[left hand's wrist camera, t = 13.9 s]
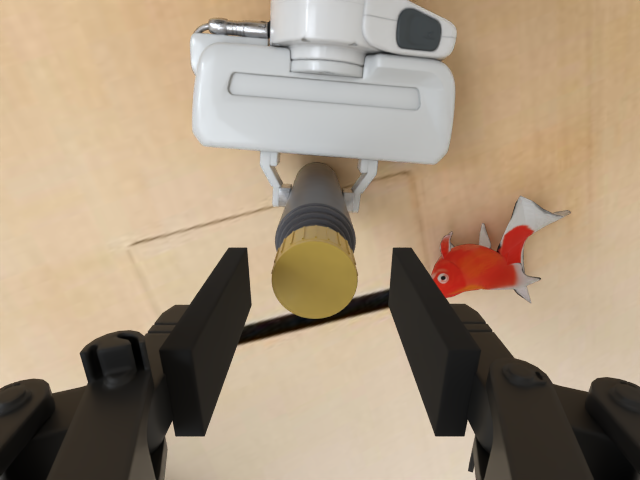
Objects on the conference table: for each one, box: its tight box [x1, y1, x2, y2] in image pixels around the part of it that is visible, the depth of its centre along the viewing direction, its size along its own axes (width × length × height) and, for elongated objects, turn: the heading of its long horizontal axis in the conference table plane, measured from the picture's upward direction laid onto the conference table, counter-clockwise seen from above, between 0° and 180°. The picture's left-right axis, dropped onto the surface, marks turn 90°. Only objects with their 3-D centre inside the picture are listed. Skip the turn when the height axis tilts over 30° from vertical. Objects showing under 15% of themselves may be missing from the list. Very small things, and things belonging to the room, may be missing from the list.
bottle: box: [275, 163, 356, 253], centre depth 26 cm, size 4×4×22 cm
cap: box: [272, 225, 358, 319], centre depth 16 cm, size 4×4×2 cm
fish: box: [431, 196, 571, 303], centre depth 34 cm, size 11×16×10 cm
